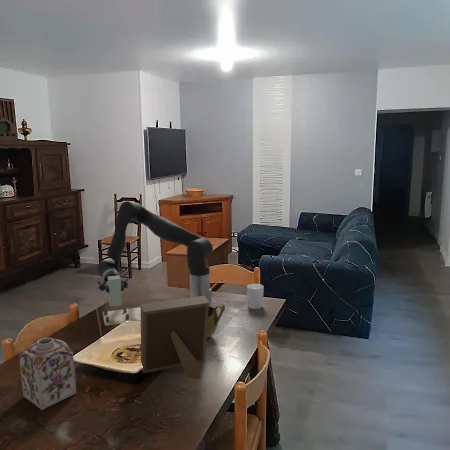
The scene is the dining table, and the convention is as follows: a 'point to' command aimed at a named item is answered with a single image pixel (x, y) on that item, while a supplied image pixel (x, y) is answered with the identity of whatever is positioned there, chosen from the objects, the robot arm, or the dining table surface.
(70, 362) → the decorative jar
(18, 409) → the dining table surface
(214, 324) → the ceramic bowl
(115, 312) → the peg board
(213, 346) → the dining table surface
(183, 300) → the photo frame
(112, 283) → the green block
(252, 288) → the white cup
